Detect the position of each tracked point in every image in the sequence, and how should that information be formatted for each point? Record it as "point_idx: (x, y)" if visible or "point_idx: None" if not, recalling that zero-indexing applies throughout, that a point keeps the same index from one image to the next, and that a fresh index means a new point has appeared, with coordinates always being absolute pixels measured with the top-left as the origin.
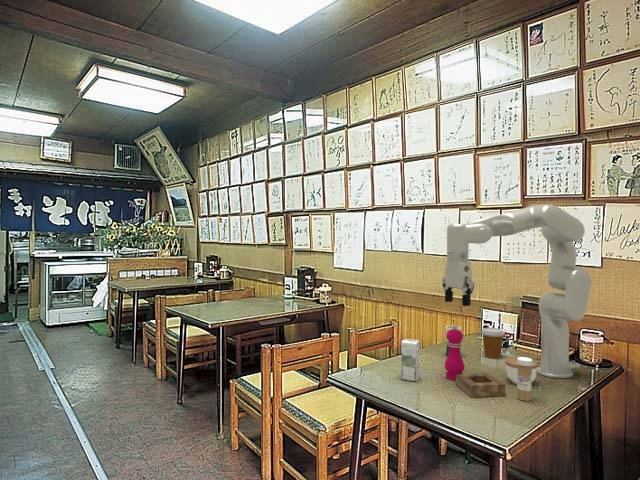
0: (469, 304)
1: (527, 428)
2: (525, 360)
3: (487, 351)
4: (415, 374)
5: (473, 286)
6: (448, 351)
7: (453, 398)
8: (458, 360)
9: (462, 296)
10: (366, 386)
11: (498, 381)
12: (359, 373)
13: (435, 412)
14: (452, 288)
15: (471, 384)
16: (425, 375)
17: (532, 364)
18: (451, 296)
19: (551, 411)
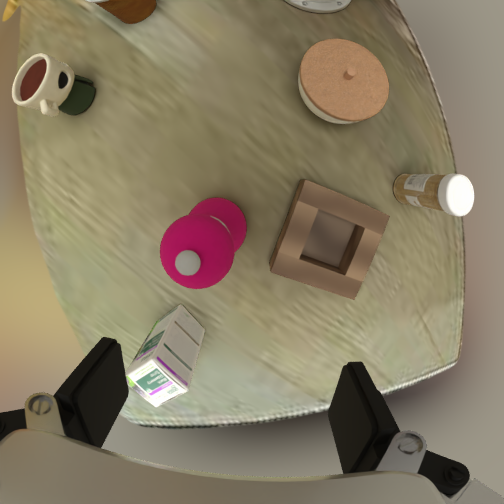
0: (360, 371)
1: (461, 299)
2: (469, 210)
3: (129, 16)
4: (202, 340)
5: (484, 496)
6: (71, 111)
7: (326, 324)
8: (236, 238)
9: (348, 470)
10: (191, 412)
11: (368, 213)
12: None
13: None
14: (63, 429)
15: (348, 293)
16: None
17: (382, 79)
18: (102, 379)
19: None
